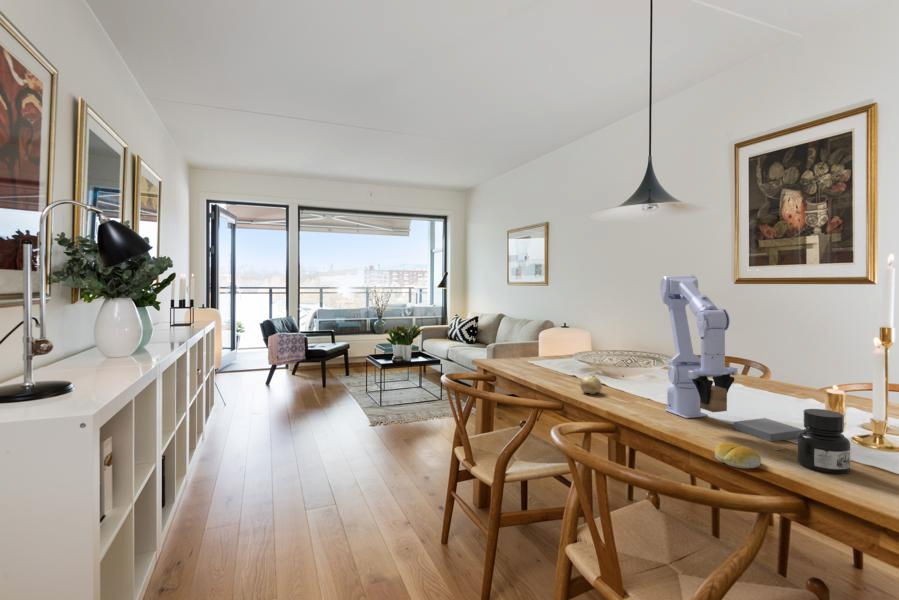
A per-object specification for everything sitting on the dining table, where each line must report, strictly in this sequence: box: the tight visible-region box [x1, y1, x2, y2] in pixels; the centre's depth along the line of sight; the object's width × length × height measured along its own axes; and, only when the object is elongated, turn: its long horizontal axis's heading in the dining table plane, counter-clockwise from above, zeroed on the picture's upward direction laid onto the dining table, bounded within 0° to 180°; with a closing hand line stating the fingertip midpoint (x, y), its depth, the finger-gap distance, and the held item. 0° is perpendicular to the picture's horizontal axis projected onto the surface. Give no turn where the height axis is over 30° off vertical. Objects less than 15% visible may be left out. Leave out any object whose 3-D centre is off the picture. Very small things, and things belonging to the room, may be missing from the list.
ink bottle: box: [797, 408, 851, 475], centre depth 99 cm, size 10×9×12 cm
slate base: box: [733, 417, 804, 443], centre depth 122 cm, size 11×11×2 cm
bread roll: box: [714, 442, 762, 470], centre depth 104 cm, size 8×9×4 cm
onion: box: [579, 373, 603, 395], centre depth 170 cm, size 8×8×7 cm
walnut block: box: [700, 384, 728, 413], centre depth 123 cm, size 4×4×6 cm
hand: (712, 402), depth 124 cm, fingers closed on walnut block, 4 cm apart
